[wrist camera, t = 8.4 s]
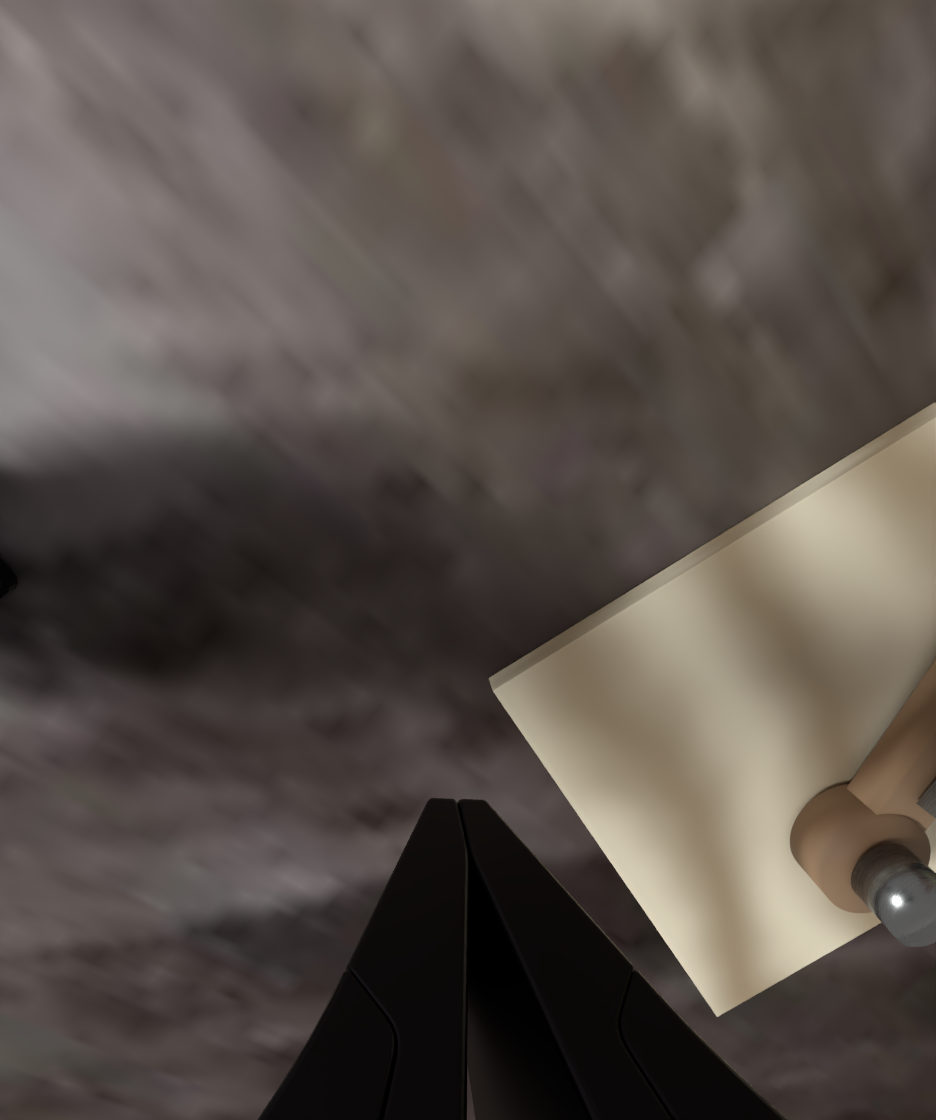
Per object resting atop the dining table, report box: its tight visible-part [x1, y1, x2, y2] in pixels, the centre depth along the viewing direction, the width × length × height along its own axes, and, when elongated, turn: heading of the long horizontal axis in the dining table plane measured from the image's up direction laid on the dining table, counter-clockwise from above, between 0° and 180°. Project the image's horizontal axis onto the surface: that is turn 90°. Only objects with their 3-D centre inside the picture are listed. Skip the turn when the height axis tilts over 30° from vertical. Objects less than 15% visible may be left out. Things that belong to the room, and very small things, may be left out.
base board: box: [489, 403, 936, 1017], centre depth 25 cm, size 19×20×1 cm
